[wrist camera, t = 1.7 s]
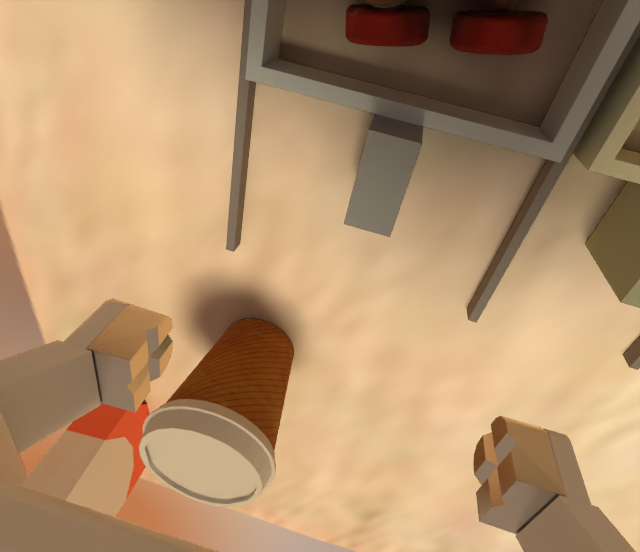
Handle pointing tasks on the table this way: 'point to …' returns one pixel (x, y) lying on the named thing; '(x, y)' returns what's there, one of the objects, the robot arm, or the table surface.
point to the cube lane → (610, 159)
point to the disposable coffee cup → (223, 419)
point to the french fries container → (94, 460)
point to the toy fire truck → (467, 29)
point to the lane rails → (636, 354)
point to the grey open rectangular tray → (436, 108)
